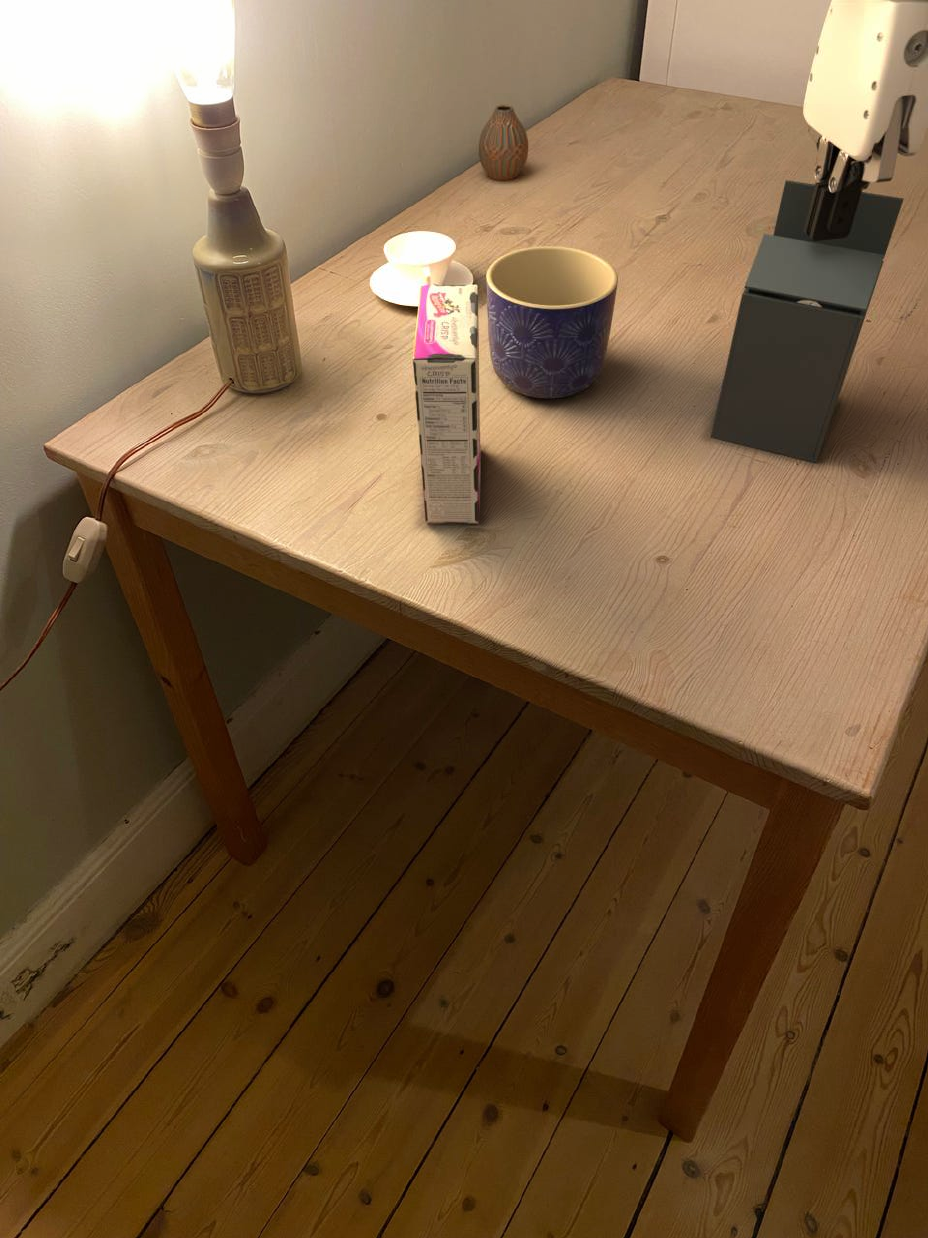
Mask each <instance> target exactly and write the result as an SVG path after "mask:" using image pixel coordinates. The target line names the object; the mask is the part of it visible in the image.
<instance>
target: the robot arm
mask: <svg viewBox="0 0 928 1238" xmlns="http://www.w3.org/2000/svg"><path fill="white" fill-rule="evenodd" d="M802 114H803V117H804V119H805V121H806V123H807V124H808V125H809V126H808V134H809V136H810V137H811V139H812V140H813V142H814V144H815V145H816V150H817V153H816V160H815V165H814V172H813V176H814V179H815V181H817V182H815V183H814V184H815V187H814V191H813V195H812V199H811V203H810V207H809V211H808V214H807V218H806V222H805V226H804V232H805V233H806V234H807V235H809V236H810V238H811V239H812V240H814V241H823V240H831V239H840V238H845V237H847V236H848V235H849V233H850V230H851V227H852V223H853V220H854V217H855V213H856V210H857V206H858V203H859V200H860V196H861V193H862V192H863V190H867V189H868V187H869V186H870V183H871V184H877V183H885V182H886V183H887V182H891V181H892V180H893V178H894V173H895V169H896V163H897V157H898V155H900V156H902V157H913V156H915V155H917V154H918V152H919V151H920V149H921V147H922V145H923V142H924V139H925V137H926V133H927V130H928V0H831V2H830V4H829V7H828V11H827V13H826V16H825V20H824V22H823V26H822V29H821V33H820V36H819V39H818V43H817V47H816V51H815V54H814V57H813V61H812V65H811V68H810V72H809V77H808V80H807V86H806V90H805V95H804V101H803V109H802Z"/></svg>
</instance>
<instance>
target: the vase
mask: <svg viewBox="0 0 928 1238" xmlns="http://www.w3.org/2000/svg"><path fill="white" fill-rule="evenodd" d="M528 138H529V137H528V135H527V131H526V128H525V127H524V125H523V124H522V122H521V121H520V119H519V118H518V116H517V114H516V112H515V110H514V107H513V106H512V105H509V104H500V105H497V106H495V108H494V111H493V113H492V115H491V116H490V118H489V119H488V121H486V123H485V125H484V126H483V128H482V131H481V132H480V136H479V141H478V158H479V162H480V164H481V167H482V169H483V170H484V173H486V175H488V177H490V178H491V179H493V180H496V181H509V180H513V179H516V178H517V176H519V175H520V173H521V172H523V170H524V168H525V166H526V164H527V160H528V156H529V139H528Z"/></svg>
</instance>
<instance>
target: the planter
mask: <svg viewBox="0 0 928 1238" xmlns="http://www.w3.org/2000/svg"><path fill="white" fill-rule="evenodd" d="M485 278H486V279H485V280H486V304H487V305H486V306H487V307H486V308H487V309H486V310H487V333H488V347H489V354H490V355H489V356H490V361H491V365H492V368H493V371H494V373H495V375H496V377H497V378H498V379H499V380H500V382H502V384H503V385H505V386H506V387H508V388H509V389H511V390H512V391H514V392H516V393H518V394H521V395H524V396H526V397H530V398H536V399H537V398H538V399H559V398H565V397H570V396H572V395H576V394H578V393H580V392H581V391H583V390H585V389H587V388H589V387H590V385H592V384H593V383H594V382H595V381H596V379H597V378H598V376H599V375H600V373H601V371H602V368H603V366H604V362H605V360H606V356H607V351H608V347H609V342H610V341H609V340H610V336H611V329H612V322H613V317H614V310H615V304H616V297H617V289H618V285H619V284H618V283H619V275H618V273H617V270H616V268H615V267H614V266H613V265H612V264H611V263H610V262H608V261H607V260H606V259H604V258H603V257H601V256H599V255H597V254H595V253H593V252H590V251H587V250H583V249H580V248H575V247H570V246H559V245H541V246H530V247H525V248H520V249H516V250H513V251H511V252H508V253H506V254H504V255H502V256H499V258H497V259H496V260H495V261H493V262H492V263H491V265H490V266H489V267H488V269H487V271H486V277H485Z"/></svg>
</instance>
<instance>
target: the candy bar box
mask: <svg viewBox="0 0 928 1238" xmlns="http://www.w3.org/2000/svg"><path fill="white" fill-rule="evenodd" d="M417 307H418V308H417V317H416V323H415V324H416V325H415V334H414V342H413V351H412V366H413V368H412V369H413V379H414V389H415V390H414V391H415V393H414V395H415V406H416V419H417V430H418V431H417V432H418V440H419V441H418V442H419V443H418V444H419V451H420V453H419V454H420V465H421V478H422V479H421V480H422V493H423V505H424V506H423V507H424V519H425V520H424V521H425V523H426V524H430V525H454V524H455V525H456V524H461V525H478V524H480V512H481V511H480V509H481V508H480V507H481V506H480V505H481V470H482V469H481V468H482V467H481V465H482V464H481V459H482V458H481V455H482V453H481V450H482V449H481V447H482V445H481V412H480V411H481V408H480V406H481V405H480V401H481V400H480V333H479V331H480V329H479V326H480V325H479V322H480V321H479V286H478V284H472V285H441V286H439V285H436V284H432V285H424V286H420V292H419V305H418V306H417Z"/></svg>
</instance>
